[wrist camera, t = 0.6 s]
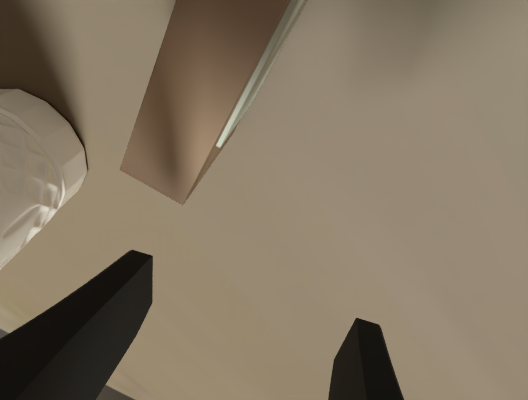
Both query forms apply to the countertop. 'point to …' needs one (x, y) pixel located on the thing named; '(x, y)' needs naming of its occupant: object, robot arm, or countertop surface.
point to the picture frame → (203, 87)
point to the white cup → (34, 167)
